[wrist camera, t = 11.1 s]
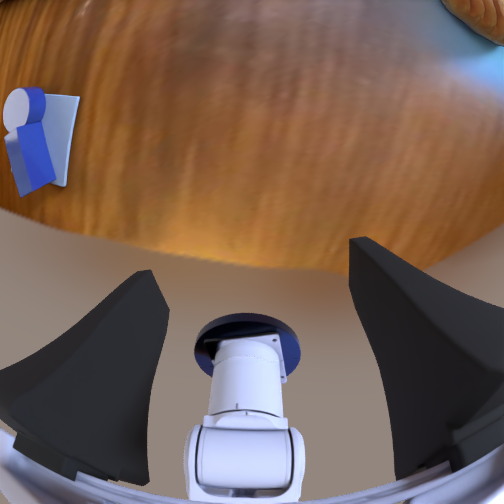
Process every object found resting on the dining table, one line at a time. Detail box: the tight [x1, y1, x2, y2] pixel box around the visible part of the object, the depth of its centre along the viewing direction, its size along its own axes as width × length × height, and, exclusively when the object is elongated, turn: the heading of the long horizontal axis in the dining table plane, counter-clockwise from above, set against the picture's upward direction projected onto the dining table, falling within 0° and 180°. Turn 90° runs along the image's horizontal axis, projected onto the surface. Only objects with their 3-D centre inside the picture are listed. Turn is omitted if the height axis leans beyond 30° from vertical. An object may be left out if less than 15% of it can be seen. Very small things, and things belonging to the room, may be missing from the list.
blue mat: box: [11, 94, 80, 187], centre depth 15 cm, size 7×7×1 cm
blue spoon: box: [3, 87, 56, 198], centre depth 13 cm, size 8×4×3 cm, turn 11°
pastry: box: [441, 0, 504, 47], centre depth 7 cm, size 9×7×4 cm
